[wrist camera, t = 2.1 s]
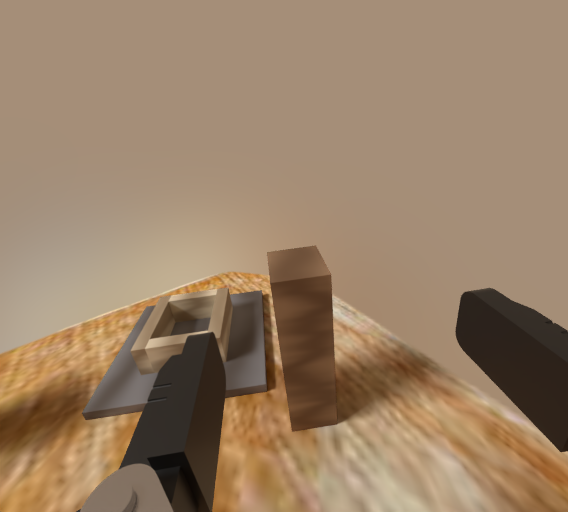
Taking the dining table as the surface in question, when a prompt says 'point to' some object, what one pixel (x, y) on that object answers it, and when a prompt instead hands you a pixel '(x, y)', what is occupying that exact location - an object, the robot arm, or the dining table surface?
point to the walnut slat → (305, 334)
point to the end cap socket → (170, 341)
